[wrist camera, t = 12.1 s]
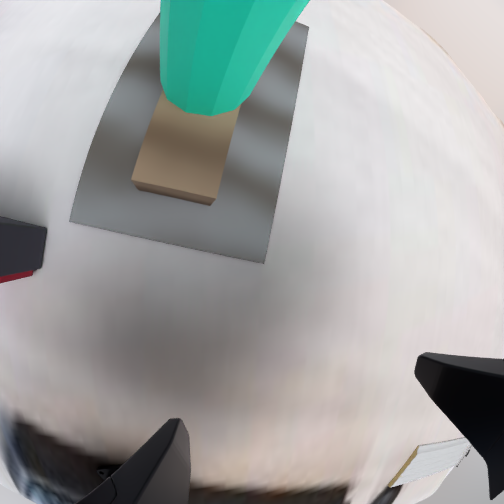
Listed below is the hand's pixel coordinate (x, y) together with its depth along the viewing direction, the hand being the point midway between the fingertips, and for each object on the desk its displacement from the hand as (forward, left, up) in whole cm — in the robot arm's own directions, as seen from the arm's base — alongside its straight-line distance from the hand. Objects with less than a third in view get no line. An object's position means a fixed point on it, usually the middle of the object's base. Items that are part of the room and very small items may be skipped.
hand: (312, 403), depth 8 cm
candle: (+2, +16, -8) cm, 18 cm away
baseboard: (+27, -45, -12) cm, 54 cm away
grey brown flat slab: (+3, +17, -11) cm, 21 cm away
